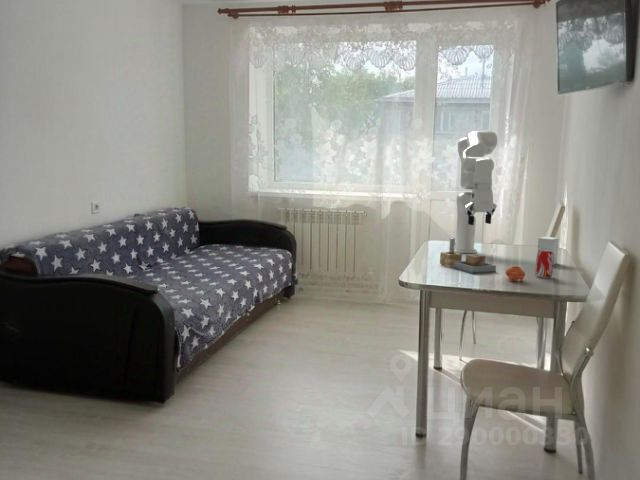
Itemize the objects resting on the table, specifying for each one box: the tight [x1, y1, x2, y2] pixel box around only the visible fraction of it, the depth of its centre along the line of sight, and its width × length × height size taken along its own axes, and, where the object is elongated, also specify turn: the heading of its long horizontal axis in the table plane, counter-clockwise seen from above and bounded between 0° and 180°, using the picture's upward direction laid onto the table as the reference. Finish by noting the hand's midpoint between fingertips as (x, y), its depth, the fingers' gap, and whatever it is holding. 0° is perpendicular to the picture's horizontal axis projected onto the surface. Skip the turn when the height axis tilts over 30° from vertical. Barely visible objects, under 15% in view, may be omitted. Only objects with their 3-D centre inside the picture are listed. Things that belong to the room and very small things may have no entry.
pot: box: [505, 265, 526, 283], centre depth 247 cm, size 8×8×7 cm
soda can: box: [534, 249, 554, 279], centre depth 255 cm, size 7×7×12 cm
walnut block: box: [465, 253, 486, 267], centre depth 267 cm, size 6×6×6 cm
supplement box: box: [537, 236, 560, 265], centre depth 286 cm, size 7×7×13 cm
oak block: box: [439, 251, 463, 268], centre depth 277 cm, size 7×7×6 cm
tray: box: [453, 260, 497, 275], centre depth 267 cm, size 13×13×3 cm
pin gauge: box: [448, 237, 456, 254], centre depth 276 cm, size 2×2×12 cm
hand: (479, 224), depth 268 cm, fingers open, 9 cm apart
